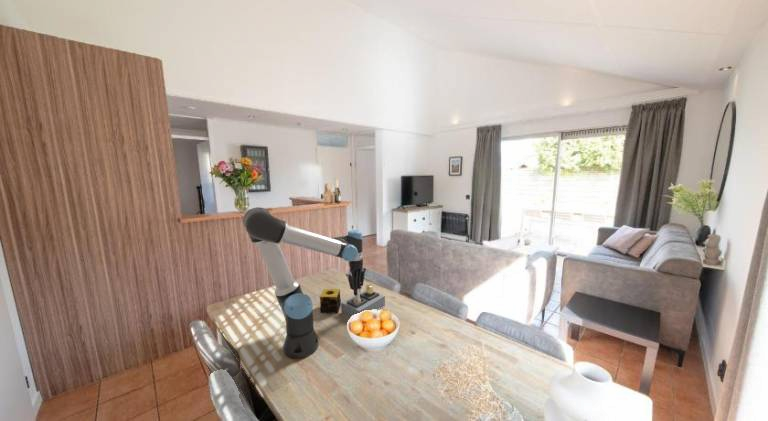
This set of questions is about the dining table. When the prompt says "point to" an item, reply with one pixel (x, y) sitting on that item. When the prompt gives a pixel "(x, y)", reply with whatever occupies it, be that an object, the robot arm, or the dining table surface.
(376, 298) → the socket block
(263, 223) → the robot arm
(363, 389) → the dining table surface
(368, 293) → the brass peg
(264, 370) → the dining table surface
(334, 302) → the candle
